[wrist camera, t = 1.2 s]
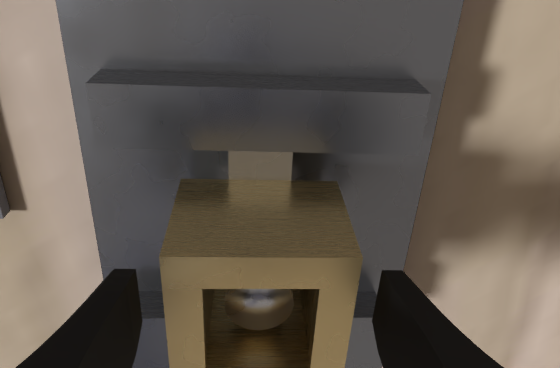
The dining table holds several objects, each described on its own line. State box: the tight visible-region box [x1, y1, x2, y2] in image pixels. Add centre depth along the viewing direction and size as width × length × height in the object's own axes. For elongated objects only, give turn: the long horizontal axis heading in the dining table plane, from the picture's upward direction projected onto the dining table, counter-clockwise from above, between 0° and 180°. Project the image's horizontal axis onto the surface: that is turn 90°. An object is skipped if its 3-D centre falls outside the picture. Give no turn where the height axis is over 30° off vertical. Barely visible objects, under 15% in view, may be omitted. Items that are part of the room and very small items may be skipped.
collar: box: [159, 179, 363, 368], centre depth 14 cm, size 5×5×4 cm
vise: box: [56, 0, 464, 368], centre depth 16 cm, size 20×12×6 cm, turn 177°
